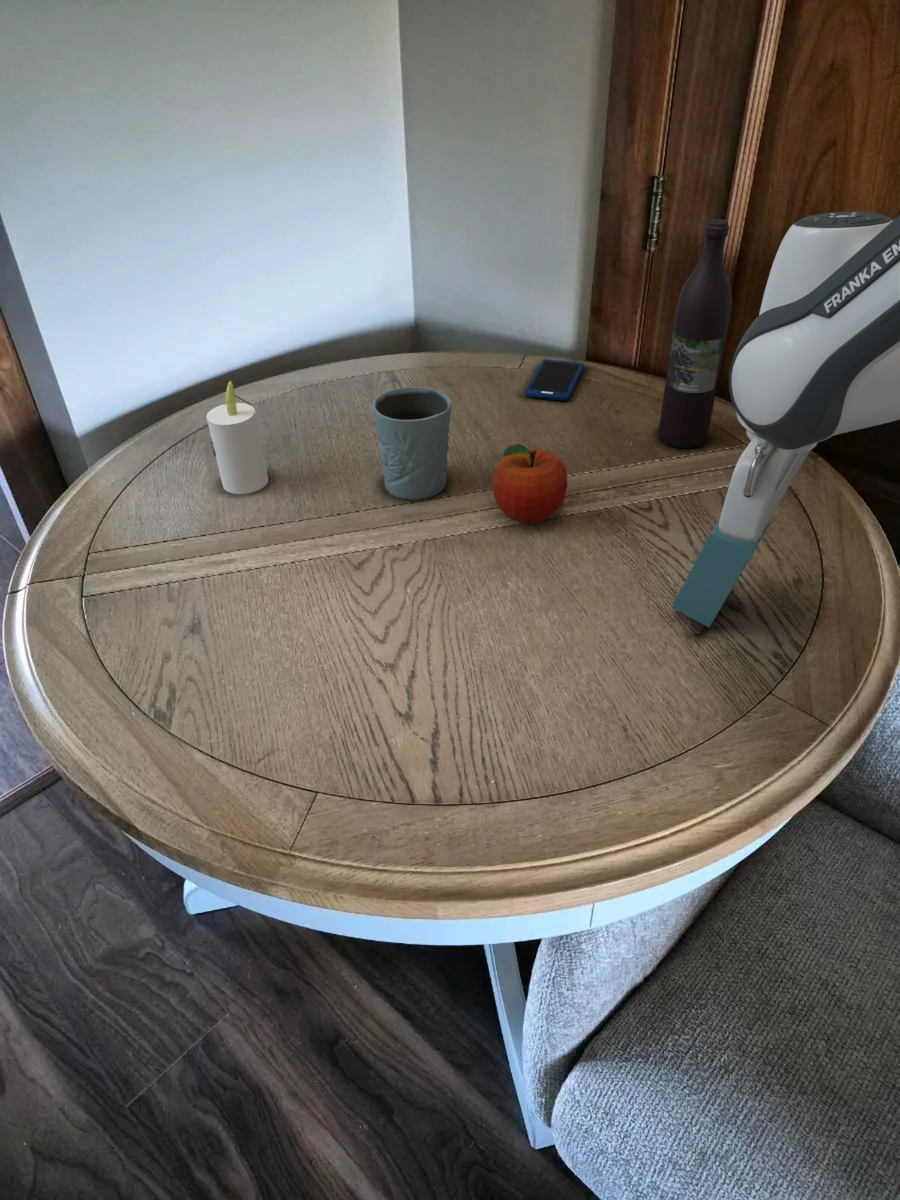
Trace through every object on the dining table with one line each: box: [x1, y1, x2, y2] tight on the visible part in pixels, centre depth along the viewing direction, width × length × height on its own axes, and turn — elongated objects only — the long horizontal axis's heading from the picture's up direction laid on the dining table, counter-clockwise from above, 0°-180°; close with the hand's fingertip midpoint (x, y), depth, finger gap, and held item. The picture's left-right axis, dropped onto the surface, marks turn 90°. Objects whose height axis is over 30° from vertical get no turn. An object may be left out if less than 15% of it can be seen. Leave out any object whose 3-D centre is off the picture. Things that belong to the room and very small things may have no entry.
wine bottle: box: [657, 218, 733, 449], centre depth 112 cm, size 7×7×30 cm
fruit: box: [491, 443, 568, 524], centre depth 104 cm, size 10×10×10 cm
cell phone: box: [524, 359, 585, 402], centre depth 137 cm, size 7×14×1 cm, turn 162°
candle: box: [206, 380, 269, 495], centre depth 110 cm, size 6×6×15 cm
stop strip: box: [692, 622, 706, 638], centre depth 91 cm, size 1×10×1 cm, turn 147°
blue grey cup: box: [371, 386, 452, 501], centre depth 110 cm, size 10×10×12 cm
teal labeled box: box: [671, 518, 773, 628], centre depth 87 cm, size 11×7×4 cm
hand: (755, 529), depth 83 cm, fingers closed, pressing on teal labeled box
